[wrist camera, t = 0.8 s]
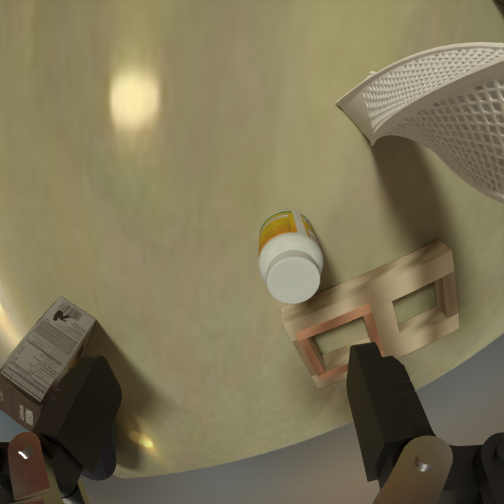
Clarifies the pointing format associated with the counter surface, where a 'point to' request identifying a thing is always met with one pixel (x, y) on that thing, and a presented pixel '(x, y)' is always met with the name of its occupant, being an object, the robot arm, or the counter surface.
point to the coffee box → (43, 361)
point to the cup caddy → (377, 311)
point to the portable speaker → (105, 459)
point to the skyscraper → (441, 108)
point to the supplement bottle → (289, 257)
